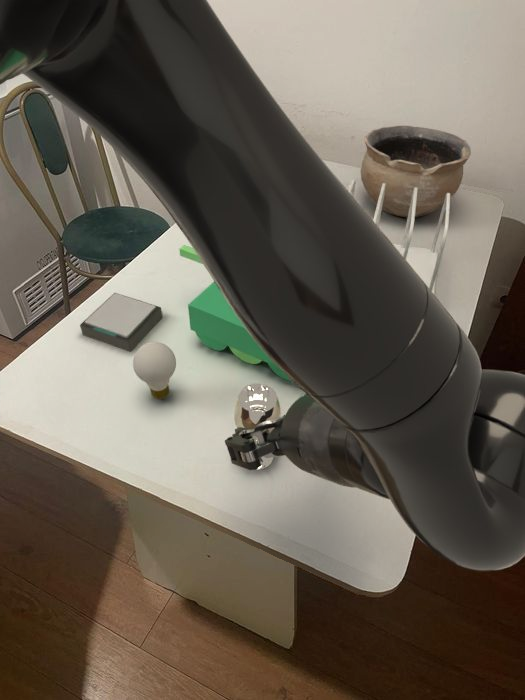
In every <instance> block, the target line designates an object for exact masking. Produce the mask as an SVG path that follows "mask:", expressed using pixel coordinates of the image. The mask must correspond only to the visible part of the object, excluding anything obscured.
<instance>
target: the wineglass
mask: <svg viewBox="0 0 525 700" xmlns="http://www.w3.org/2000/svg"><path fill="white" fill-rule="evenodd" d="M235 401H236V402H235V405H234V411H233V419H234V420H233V421H234V424H235V427H236V429H237V428H239V427H243V428H247V429H255V427H256V426H257V425H259V424H260V423H262V422H265V421H270V420H275V419H279V418H281V417H282V409H281V404H280V400H279V397H278V394H277V392H276V391H275V389H274V388H273V387H271V386H270V385H269V384H266V383H259V382H258V383H257V382H254V383H250V384H247V385H245V386H244V387H243V388H242V389H240V392H239V393H238V396H237V398H236V400H235ZM273 429H274V428H270V429H268V430H269V433H270V432H271V431H272V430H273ZM252 437H253V438H254V441H255V444H259V441H258V438H257V437H256V436H252ZM260 459H261V462H260V463H261V467H259V468H258V469H256V471H259V470H263V469H266V468H268V467H269V466H270V465H272V462H273V461H274V457H271V458H265V457H264V456H263V457H261V458H260Z"/></svg>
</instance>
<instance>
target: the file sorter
mask: <svg viewBox="0 0 525 700" xmlns="http://www.w3.org/2000/svg"><path fill="white" fill-rule="evenodd" d="M385 187H386V184H385V183H383V184H382V188H381V192H380V195H379V199H378V203H377V205H376V208H375V211H374V215H373V219H372V220H373V221H374V223H375V224H376V225H377V226H378V227H379V228H380V222H381V214H382V211H383V210H382V205H383V199H384V194H385ZM417 189H418V188H414V190H413V195H412V199H411V204H410V209H409V214H408V217H406V223H405V229H404V234H403V238H402V244H399V243H392V242H391V243H392V244H393V245H394V246H395V248H396V249H397V250H398V251H399V252H400V254H401V255H402V256H403V257H404V258H405V260H406V261H407V262H408V263H409V264H410V266H411V267H412V268H413V269H414V270H415V272H416V273H417V274H418V275H419V277H420V278H421V279H422V280H423V281H424V283H425V284H426V285H427V286H428V288H429V289H430V290H431V291H432V293H433V294H434V295H435V292H436V282H437V281H436V280H437V279H436V278H437V274H438V271H439V267H440V264H441V259H442V256H443V252H444V249H445V245H446V242H447V237H448V231H449V223H450V209H451V208H450V207H451V205H450V204H451V198H450V193H447V194H446V197H445V200H444V204H443V205H442V206H441V211H440V215H439V219H438V223H437V227H436V231H435V234H434V237H433V242H432V246H431V248H427V247H420V246H419V247H418V246H412V245H411V241H412V236H413V232H414V231H413V230H414V225H415V218H416V217H415V210H416V200H417ZM347 190H348V192H349V193H350V194H351V195H352V196H353V198H354V199H355V193H356V192H355V191H356V179H355V178H354V179H353V178H352V179H351V181H350V184H349V187H348V189H347ZM443 220H444V228H443V232H442V233H443V234H442V239H441V243H440V247H439V251H438V250H437V249H436V246H437V242H438V238H439V235H440V230H441V227H442V223H443Z"/></svg>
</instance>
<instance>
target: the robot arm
mask: <svg viewBox="0 0 525 700" xmlns="http://www.w3.org/2000/svg"><path fill="white" fill-rule="evenodd" d="M20 75H24V76H25V77H27V78H28V79H29V80H30V81H32V82H33V83H34V84H36V85H37V86H39V87H40V88H41V89H42V90H44V91H45V92H46V93H48V94H49V95H50V96H52V97H53V98H54V99H56V101H58V102H59V103H61V104H62V105H63V106H65V107H66V108H67V109H69V111H71V112H72V113H73V114H75V115H76V116H77V117H78V118H80V119H81V121H83V122H84V123H86V124H87V125H88V126H89V127H90V128H91V129H93V131H94V132H96V133H97V134H98V135H99V136H100V137H101V138H102V139H103V140H104V141H106V142H107V143H108V145H109V146H111V148H112V149H114V150H115V151H116V152H117V154H118V155H120V157H122V159H123V160H124V161H125V162H126V163H127V164H128V165H129V166H130V167H131V168H132V169H133V171H134V172H135V173H136V174H137V175H138V176H139V177H140V178H141V179H142V181H143V182H144V184H146V186H147V187H148V188H149V189H150V191H152V193H153V195H155V197H156V198H157V199H158V201H159V202H160V203H161V205H162V206H163V207H164V208H165V210H166V211H167V212H168V214H169V215H170V217H171V218H172V220H173V221H174V223H175V224H176V225H177V227H178V229H179V230H180V231H181V232H182V234H183V236H184V237H185V238H186V240H187V242H188V243H189V244H190V247H192V248H193V249H194V251H195V252H196V254H197V255H198V257H199V258H200V260H201V261H202V263H203V264H202V265H203V266H204V268H205V269H206V271H207V272H208V274H209V275H210V277H211V278H212V280H213V282H215V283H216V285H217V287H218V288H219V290H220V291H221V293H222V295H223V296H224V298H225V299H226V301H227V303H228V304H229V306H230V307H231V309H232V310H233V311H234V313H235V314H236V316H237V317H238V319H239V320H240V322H241V323H242V324H243V326H244V327H245V329H246V330H247V331H248V333H249V334H250V335H251V336H252V338H253V339H254V340H255V341H256V343H257V344H258V345H259V346H260V348H261V349H262V350H263V351H264V352H265V353H266V354H267V355H268V357H269V358H270V359H271V360H272V361H273V362H274V363H275V364H276V365H277V366H278V367H279V368H280V369H281V370H282V371H283V372H284V373H285V374H286V375H287V376H288V377H289V378H290V379H291V380H292V381H291V382H293V383H294V384H295V385H296V386H297V387H299V389H301V391H303V392H304V393H305V394H304V395H302V396H300V397H299V398H297V399H296V400H295V401H294V402H293V403H292V404H291V405H290V407H288V410H287V411H286V412H285V414H284V415H281V418H279V419H275V420H270V421H265V422H262V423H260V424H259V425H257V426H256V427H255V429H247V428H243V427H239V428H237V427H236V428H234V433H232V435H231V436H229V437H227V438H226V439H224V444H225V446H226V448H227V451H228V455H229V457H230V462H231V464H232V465H235V466H238V467H240V468H243V469H246V470H248V471H255V470H256V469H258V468H259V467H261V463H260V462H261V459H260V458H261V457H263V456H264V457H265V458H271V457H273V458H277V457H284V456H285V457H286V458H287V459H288V460H289V461H290V463H292V465H294V466H295V467H297V469H300V470H301V471H302V472H305V473H308V474H311V475H312V476H316V477H318V478H320V479H324V480H325V481H328V482H331V483H333V484H336V485H338V486H339V485H340V486H342V487H347V488H356V489H359V490H361V491H364V492H367V493H370V494H372V495H375V496H378V497H380V498H383V499H386V500H389V501H390V502H391V504H392V505H393V507H394V509H395V510H396V511H397V513H398V515H399V516H400V518H401V519H402V521H403V522H404V523H405V524H406V526H407V527H408V528H409V529H410V531H411V532H412V533H413V534H414V535H415V536H416V537H417V538H418V539H419V540H420V541H421V542H422V543H423V544H424V545H425V546H426V547H427V548H428V549H430V550H431V551H432V552H434V553H435V554H436V555H437V556H439V557H441V558H442V559H444V560H446V561H447V562H449V563H452V564H453V565H455V566H458V567H460V568H464V569H466V570H471V571H476V572H496V571H501V570H504V569H507V568H511V567H512V566H514V565H516V564H517V563H518V562H520V561H521V560H522V559H523V558H525V374H523V373H519V372H516V371H510V370H504V369H503V370H502V369H493V368H491V369H490V368H485V369H484V368H483V369H482V364H481V360H480V357H479V353H478V351H477V349H476V348H475V347H474V345H473V343H472V341H471V340H470V338H469V336H468V335H467V334H466V333H465V331H464V329H462V327H461V326H460V325H459V324H458V323H457V321H456V320H455V319H454V317H453V316H452V315H451V313H450V312H449V311H448V310H447V308H446V307H445V306H444V305H443V304H442V303H441V301H440V300H439V298H437V296H436V295H435V294H433V293H432V291H431V290H430V289H429V288H428V286H427V285H426V284H425V283H424V281H423V280H422V279H421V278H420V277H419V275H418V274H417V273H416V272H415V270H414V269H413V268H412V267H411V266H410V264H409V263H408V262H407V261H406V260H405V258H404V257H403V256H402V255H401V254H400V252H399V251H398V250H397V249H396V248H395V246H394V245H393V244H394V243H393V244H392V242H391V240H390V239H389V238H388V237H387V236H386V234H385V233H384V232H383V231H382V230H381V228H380V226H379V227H378V226H377V225H376V224H375V223H374V221H373V219H372V218H371V216H370V215H369V214H368V213H367V212H366V211H365V209H364V208H363V207H362V206H361V204H359V202H358V201H357V200H356V199H355V197H354V198H353V196H352V195H351V194H350V193H349V192H348V189H347V188H346V186H344V185H343V183H342V182H341V180H340V179H339V178H338V177H337V176H336V174H335V173H334V172H333V171H332V170H331V169H330V167H329V166H328V165H327V164H326V163H325V161H324V160H323V159H322V158H321V156H320V155H319V154H318V152H317V151H316V150H315V149H314V148H313V147H312V146H311V144H310V143H309V142H308V141H307V139H306V138H305V137H304V135H303V134H302V133H301V132H300V131H299V129H298V128H297V127H296V125H295V124H294V123H293V121H292V120H291V119H290V117H288V115H287V113H286V112H285V111H284V110H283V108H282V107H281V106H280V105H279V104H278V102H277V100H276V99H275V97H274V96H273V95H272V93H271V92H270V91H269V90H268V88H267V87H266V85H265V84H264V82H263V81H262V80H261V78H260V77H259V75H258V74H257V73H256V71H255V70H254V68H253V67H252V65H251V64H250V62H249V61H248V59H247V58H246V57H245V55H244V54H243V52H242V51H241V49H240V48H239V46H238V45H237V44H236V43H235V41H234V39H233V38H232V36H231V35H230V33H229V32H228V30H227V29H226V27H225V26H224V25H223V23H222V22H221V20H220V18H219V17H218V15H217V14H216V12H215V11H214V9H213V7H212V6H211V4H210V3H209V1H208V0H0V85H2V84H4V83H5V82H7V81H9V80H12V79H14V78H17V77H18V76H20ZM270 428H274V429H273V430H272V431H271V432H270V433H269V430H268V429H270ZM252 436H256V437H257V438H258V441H259V444H255V440H254V438H253V437H252ZM256 471H257V470H256Z"/></svg>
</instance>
